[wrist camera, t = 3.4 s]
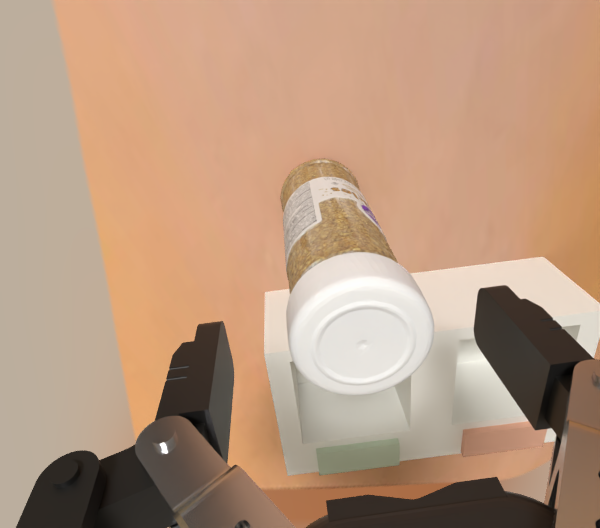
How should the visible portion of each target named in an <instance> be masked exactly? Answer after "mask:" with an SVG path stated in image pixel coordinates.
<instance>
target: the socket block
mask: <svg viewBox="0 0 600 528" xmlns="http://www.w3.org/2000/svg"><path fill="white" fill-rule="evenodd" d="M410 274H411V275H412V277H413V278H414V280H415V282H416V283H417V285H418V287H419V288H420V290H421V292H422V294H423V296H424V298H425V299H426V301H427V303H428V305H429V307H430V310H431V312H432V316H433V319H434V339H433V344H432V347H431V349H430V352H429V354H428V355H427V357H426V359H425V360H424V362H423V363H422V365H421V366H420V367H419V368H418V369H417V370H416V371H415V372H414V373H413V374H412V375H411V376H410V377H408V378H407V379H405V380H404V381H403V382H401V383H399V384H397V385H396V386H394V387H391V388H389V389H386V390H384V391H381V392H377V393H373V394H367V395H342V394H336V393H333V392H329V391H326V390H324V389H321V388H319V387H318V386H316V385H314V384H313V383H311V382H310V381H308V380H307V379H306V378H305V377H304V376H303V375H302V374H301V373H300V371H299V370H298V369H297V367H296V366H295V364H294V362H293V360H292V357H291V354H290V350H289V344H288V334H287V321H286V310H287V305H288V300H289V296H290V291H289V289H284V290H277V291H269V292H265V327H264V356H265V361H266V366H267V371H268V376H269V382H270V387H271V392H272V397H273V402H274V407H275V413H276V418H277V423H278V428H279V433H280V438H281V444H282V449H283V454H284V459H285V464H286V469H287V475H288V476H290V475H297V474H305V473H313V472H319V475H327V474H335V473H342V472H350V471H358V470H366V469H373V468H381V467H389V466H397V465H399V461H406V460H414V459H421V458H429V457H437V456H445V455H452V454H460V453H462V455H463V457H466V456H474V455H482V454H490V453H497V452H505V451H513V450H521V449H528V448H536V447H543V444H544V443H545V442H553V441H555V437H556V433H555V432H554V431H553V429H552V428H550V429H542V430H534V428H533V427H532V425H531V424H530V422H529V421H528V419H527V418H526V417H525V415H524V414H523V412H522V411H521V409H520V408H519V406H518V405H517V403H516V402H515V400H514V399H513V397H512V396H511V395H510V393H509V392H508V390H507V389H506V387H505V386H504V384H503V383H502V381H501V380H500V378H499V377H498V376H497V374H496V373H495V371H494V370H493V368H492V367H491V365H490V364H489V362H488V361H487V359H486V358H485V356H484V355H483V354H482V352H481V351H480V349H479V348H478V346H477V343H476V341H475V337H474V320H475V312H476V303H477V295H478V291H479V289H480V288H486V287H493V286H501V285H506V286H508V287H509V288H510V289H511V290H512V291H513V292H514V293H515V294H516V295H517V296H518V297H519V298H520V299H528V300H529V301H531V302H533V303H535V304H537V305H539V306H541V307H542V308H543V309H544V310H545V311H546V312H547V313H548V314H549V315H550V316H551V317H552V318H553V320H555V321H556V322H557V323H558V324H560V325H561V326H562V329H565V330H566V331H567V332H568V333H569V334H570V335H571V336H572V337H573V338H574V339H575V340H576V341H577V342H578V343H579V344H580V345H581V346H582V347H583V348H584V349H585V350H586V351H587V352H588V353H589V354H590V355H591V356H592V357H593V358H594V355H595V352H596V348H597V345H598V341H599V338H600V303H599V302H597V301H596V300H595V299H594V298H592V297H591V296H590V295H589V294H588V293H586V292H585V291H584V290H583V289H582V288H580V287H579V286H578V285H577V284H576V283H574V282H573V281H572V280H571V279H570V278H568V277H567V276H566V275H565V274H564V273H562V272H561V271H560V270H559V269H557V268H556V267H555V266H554V265H553V264H551V263H550V262H549V261H548V260H547V259H545V258H544V257H536V258H528V259H520V260H512V261H504V262H496V263H489V264H481V265H473V266H465V267H457V268H449V269H441V270H434V271H426V272H418V273H410Z"/></svg>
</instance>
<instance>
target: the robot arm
mask: <svg viewBox="0 0 600 528" xmlns="http://www.w3.org/2000/svg"><path fill="white" fill-rule="evenodd" d="M474 337H475V341H476V343H477V346H478V348H479V349H480V351H481V352H482V354H483V355H484V356H485V358H486V359H487V361H488V362H489V364H490V365H491V367H492V368H493V370H494V371H495V373H496V374H497V376H498V377H499V378H500V380H501V381H502V383H503V384H504V386H505V387H506V389H507V390H508V392H509V393H510V395H511V396H512V397H513V399H514V400H515V402H516V403H517V405H518V406H519V408H520V409H521V411H522V412H523V414H524V415H525V417H526V418H527V419H528V421H529V422H530V424H531V425H532V427H533V428H534V430H542V429H550V428H552V429H553V431H554V432H555V433H556V437H555V441H554V446H553V452H552V458H551V464H550V471H549V477H548V483H547V489H546V496H545V501H544V503H542V502H540V501H537V500H535V499H533V498H530V497H527V496H524V495H521V494H517V493H512V492H507V491H504V490H503V488H502V486H501V484H500V482H499V480H498V478H497V477H493V478H486V479H478V480H471V481H464V482H457V483H453V484H451V485H449V486H447V487H444V488H442V489H440V490H437V491H435V492H433V493H431V494H428V495H426V496H424V497H421V498H419V499H414V500H410V499H401V498H393V497H383V496H374V495H364V496H356V497H349V498H342V499H335V500H328V501H326V503H327V511H328V515H326V516H324V517H322V518H319V519H318V520H316V521H314V522H313V523H311V524H310V525H308V526H307V527H306V528H600V360H595V359H594V358H593V357H592V356H591V355H590V354H589V353H588V352H587V351H586V350H585V349H584V348H583V347H582V346H581V345H580V344H579V343H578V342H577V341H576V340H575V339H574V338H573V337H572V336H571V335H570V334H569V333H568V332H567V331H566V330H565V329H562V326H561V325H560V324H558V323H557V322H556V321H555V320H553V318H552V317H551V316H550V315H549V314H548V313H547V312H546V311H545V310H544V309H543V308H542V307H541V306H539V305H537V304H535V303H533V302H531V301H529V300H528V299H520V298H519V297H518V296H517V295H516V294H515V293H514V292H513V291H512V290H511V289H510V288H509V287H508V286H506V285H501V286H493V287H486V288H480V289H479V291H478V295H477V303H476V312H475V320H474ZM169 369H170V370H169V371H168V375H167V378H166V379H167V381H166V382H165V386H164V389H163V393H162V397H161V400H160V404H159V407H158V411H157V415H156V418H155V421H154V422H152V423H151V424H150V425H148V426H147V427H146V428H145V429H144V430H143V431H142V432H141V433H140V435H139V436H138V438H137V441H136V444H135V445H133V446H132V447H130V448H128V449H126V450H124V451H121V452H119V453H116V454H114V455H111V456H109V457H107V458H104V459H101V460H98V458H97V456H96V455H95V454H94V453H92V452H90V451H75V452H71V453H69V454H66V455H64V456H62V457H60V458H58V459H57V460H55V461H54V462H53V463H52V464H50V465H49V466H48V467H47V468H46V469H45V470H44V471H43V472H42V473H41V475H40V476H39V478H38V479H37V481H36V483H35V486H34V488H33V490H32V492H31V494H30V497H29V499H28V501H27V504H26V506H25V508H24V510H23V513H22V515H21V517H20V520H19V522H18V524H17V526H16V528H167V527H169V528H295V526H294V525H293V524H292V523H291V522H290V521H289V520H288V519H287V518H286V517H285V515H284V514H283V513H282V512H281V511H280V510H279V509H278V508H277V507H276V506H275V505H274V503H273V502H272V501H271V500H270V499H269V498H268V497H267V496H266V494H265V493H264V492H263V491H262V490H261V489H260V488H259V487H258V486H257V485H256V483H255V482H254V481H253V480H252V479H251V478H250V477H249V476H248V475H247V474H246V472H245V471H244V470H243V469H242V468H240V467H239V466H237V465H234V466H233V467H232V468H231V467H230V466H229V465H228V464H227V461H228V448H229V436H230V423H231V411H232V398H233V386H234V367H233V360H232V356H231V351H230V347H229V343H228V338H227V334H226V330H225V326H224V323H223V321H220V322H212V323H205V324H199V325H198V327H197V331H196V336H195V340H194V341H193V342H185V343H182V344H181V346H180V347H179V348H178V349H177V351H176V352H175V353H174V354H173V356H172V360H171V364H170V367H169Z"/></svg>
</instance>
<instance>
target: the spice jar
mask: <svg viewBox="0 0 600 528" xmlns="http://www.w3.org/2000/svg"><path fill="white" fill-rule="evenodd" d="M281 203H282V209H283V212H284V215H283V227H284V241H285V257H286V272H287V277H288V280H289V291H290V296H289V300H288V305H287V310H286V321H287V334H288V344H289V350H290V354H291V357H292V360H293V362H294V364H295V366H296V367H297V369H298V370H299V371H300V373H301V374H302V375H303V376H304V377H305V378H306V379H307V380H308V381H310V382H311V383H313V384H314V385H316V386H318V387H319V388H321V389H324V390H326V391H329V392H333V393H336V394H342V395H367V394H373V393H377V392H381V391H384V390H386V389H389V388H391V387H394V386H396V385H397V384H399V383H401V382H403V381H404V380H405V379H407V378H408V377H410V376H411V375H412V374H413V373H414V372H415V371H416V370H417V369H418V368H419V367H420V366H421V365H422V363H423V362H424V360H425V359H426V357H427V355H428V354H429V352H430V349H431V347H432V344H433V339H434V319H433V316H432V312H431V310H430V307H429V305H428V303H427V301H426V299H425V298H424V296H423V294H422V292H421V290H420V288H419V287H418V285H417V283H416V282H415V280H414V278H413V277H412V275H411V274H410V273H409V272H408V271H407V270H406V269H405V268H404V267H403V266H401V265H400V264H398V262H397V260H396V258H395V256H394V255H393V252H392V250H391V249H390V247H389V245H388V243H387V241H386V237H385V235H384V233H383V231H382V230H381V228H380V226H379V224H378V222H377V221H376V219H375V217H374V215H373V213H372V211H371V209H370V207H369V205H368V203H367V201H366V199H365V198H364V196H363V194H362V193H361V192H360V190H359V186H358V183H357V180H356V178H355V176H354V175H353V174H352V173H351V171H350V170H349V169H348V168H346V167H345V166H344V165H342V164H341V163H339V162H336V161H332V160H328V159H314V160H311V161H308V162H305V163H303V164H301V165H299V166H298V167H297V168H295V169H294V170H292V171H291V173H290V174H289V176H288V177H287V178H286V180H285V182H284V184H283V187H282V191H281Z"/></svg>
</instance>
